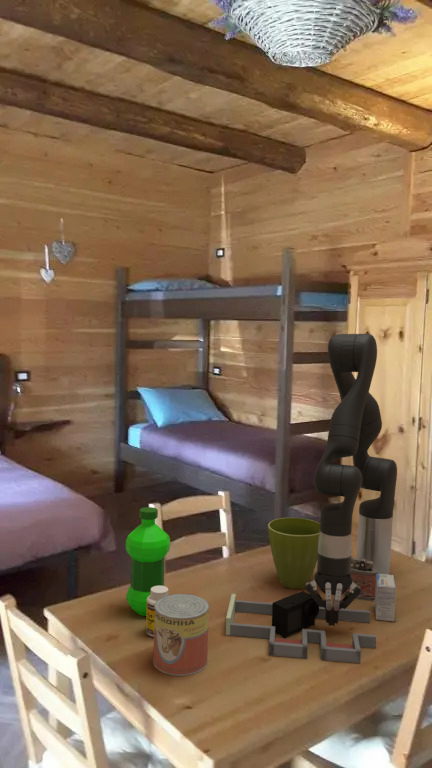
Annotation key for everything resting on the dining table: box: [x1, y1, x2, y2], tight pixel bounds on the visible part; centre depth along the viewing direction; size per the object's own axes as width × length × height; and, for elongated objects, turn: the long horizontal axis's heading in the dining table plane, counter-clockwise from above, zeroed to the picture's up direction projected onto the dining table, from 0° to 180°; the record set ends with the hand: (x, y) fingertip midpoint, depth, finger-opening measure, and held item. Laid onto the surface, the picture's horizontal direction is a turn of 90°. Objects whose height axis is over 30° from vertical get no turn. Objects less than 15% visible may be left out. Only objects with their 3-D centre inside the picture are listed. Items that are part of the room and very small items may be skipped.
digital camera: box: [271, 590, 319, 639], centre depth 150 cm, size 10×5×7 cm, turn 131°
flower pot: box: [267, 517, 320, 590], centre depth 175 cm, size 15×15×16 cm
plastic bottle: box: [125, 506, 171, 617], centre depth 156 cm, size 10×10×25 cm
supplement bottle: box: [145, 585, 170, 638], centre depth 146 cm, size 6×6×10 cm
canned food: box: [152, 593, 210, 677], centre depth 134 cm, size 11×11×12 cm
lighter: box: [343, 557, 377, 602], centre depth 168 cm, size 8×3×10 cm, turn 71°
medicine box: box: [374, 574, 397, 622], centre depth 159 cm, size 8×4×9 cm, turn 168°
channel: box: [225, 593, 377, 664], centre depth 147 cm, size 20×33×4 cm, turn 83°
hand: (331, 624), depth 150 cm, fingers closed
